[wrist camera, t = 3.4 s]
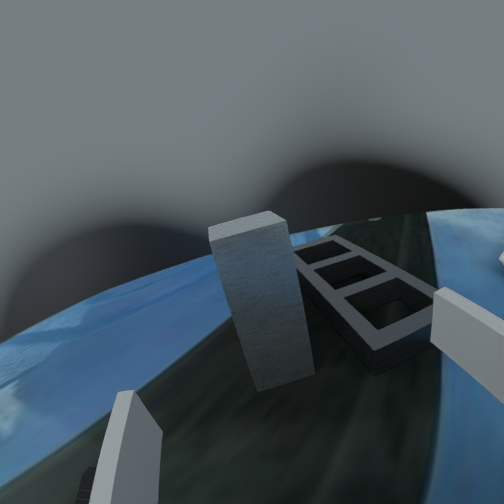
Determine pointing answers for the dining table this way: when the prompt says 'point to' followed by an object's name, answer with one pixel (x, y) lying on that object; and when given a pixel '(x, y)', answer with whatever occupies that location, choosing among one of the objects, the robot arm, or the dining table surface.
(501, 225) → the dining table surface
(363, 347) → the rack rail
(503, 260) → the salad plate
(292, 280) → the grey upright post
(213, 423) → the dining table surface
